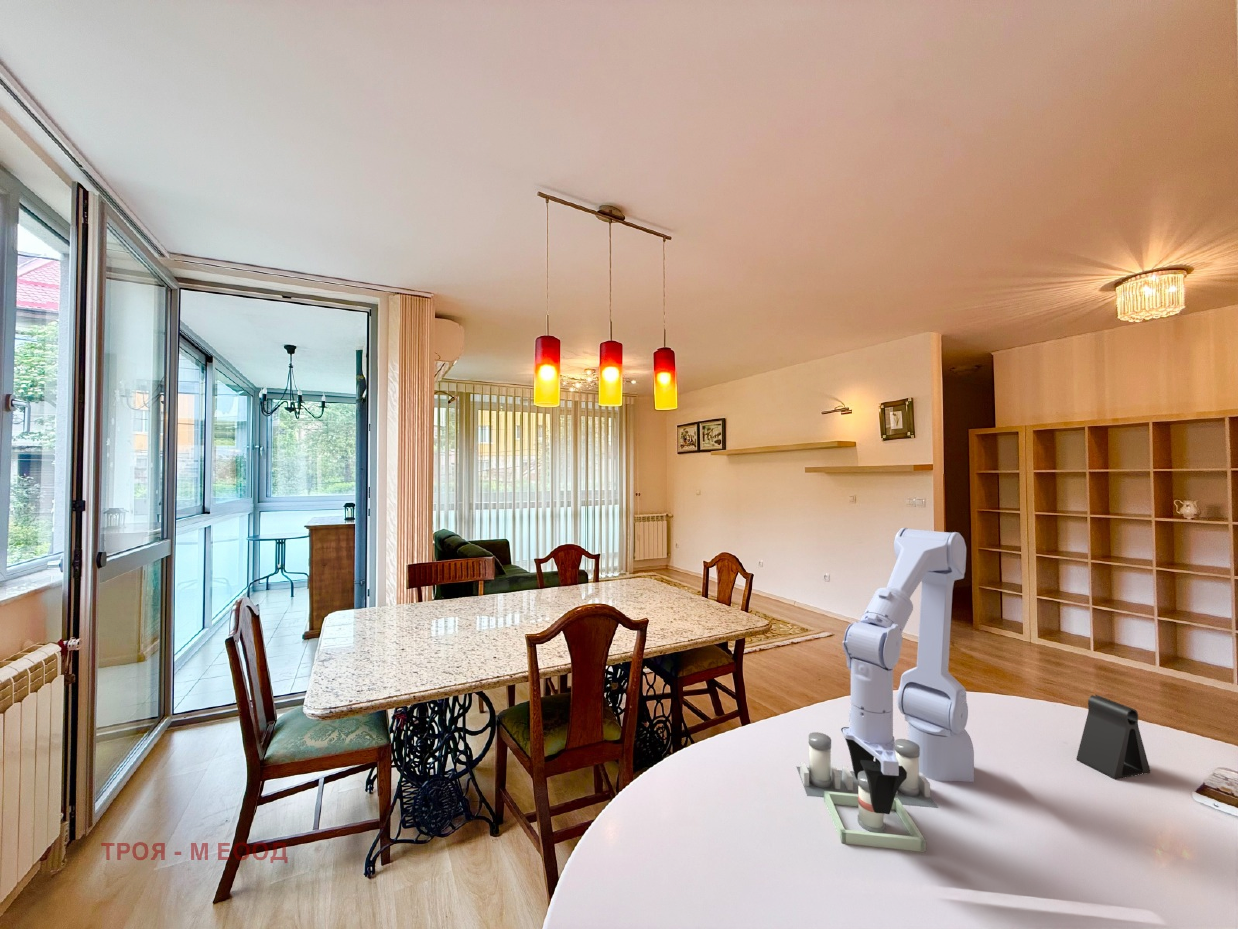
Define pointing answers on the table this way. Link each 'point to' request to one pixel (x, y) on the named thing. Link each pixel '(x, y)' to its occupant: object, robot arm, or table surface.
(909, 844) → the tray
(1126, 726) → the phone stand
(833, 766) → the clip board
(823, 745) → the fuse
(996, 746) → the table surface
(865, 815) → the marked fuse
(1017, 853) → the table surface
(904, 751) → the fuse
